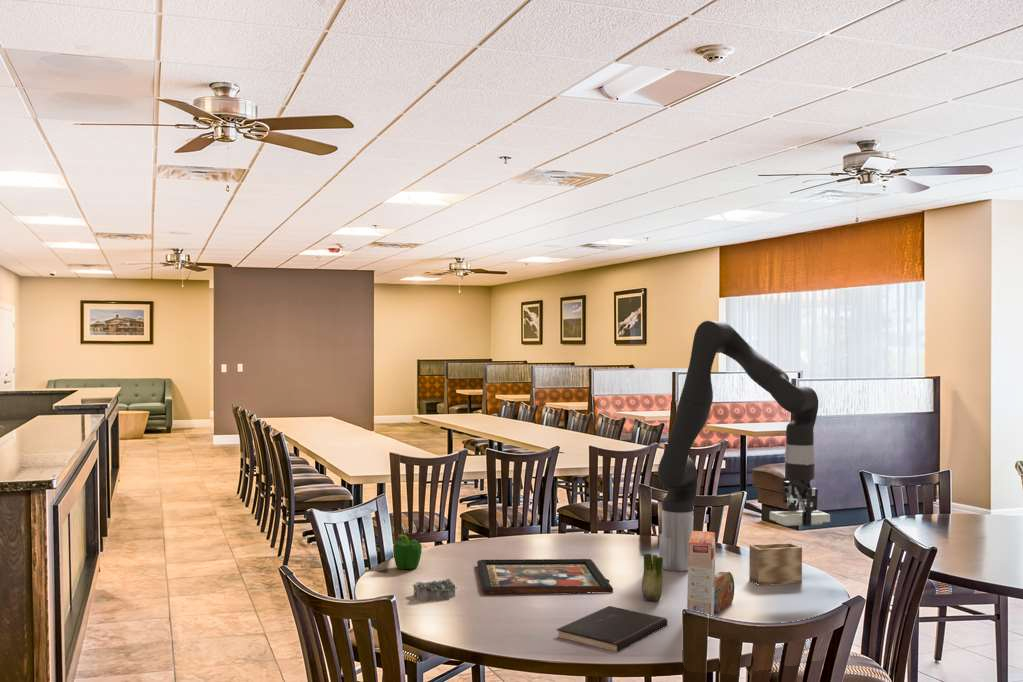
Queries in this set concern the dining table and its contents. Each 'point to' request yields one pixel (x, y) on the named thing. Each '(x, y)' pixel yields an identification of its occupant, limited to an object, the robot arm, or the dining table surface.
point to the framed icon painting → (541, 576)
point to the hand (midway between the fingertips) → (799, 523)
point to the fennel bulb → (652, 577)
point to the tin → (723, 591)
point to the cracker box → (701, 572)
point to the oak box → (775, 563)
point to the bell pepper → (407, 553)
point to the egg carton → (434, 590)
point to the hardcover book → (612, 628)
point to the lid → (798, 517)
